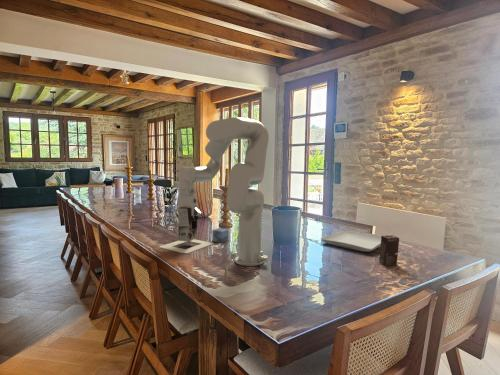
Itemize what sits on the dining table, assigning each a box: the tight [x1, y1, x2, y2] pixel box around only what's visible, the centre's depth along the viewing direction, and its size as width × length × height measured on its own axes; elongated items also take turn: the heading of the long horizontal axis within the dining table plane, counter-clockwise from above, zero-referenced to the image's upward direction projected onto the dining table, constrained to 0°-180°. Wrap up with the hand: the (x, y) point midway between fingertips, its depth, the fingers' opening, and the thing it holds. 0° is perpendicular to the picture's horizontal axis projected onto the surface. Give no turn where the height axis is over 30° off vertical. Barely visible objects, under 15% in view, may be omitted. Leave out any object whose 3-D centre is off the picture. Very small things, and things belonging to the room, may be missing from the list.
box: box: [378, 235, 400, 266], centre depth 139 cm, size 6×4×12 cm
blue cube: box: [211, 227, 229, 244], centre depth 172 cm, size 6×6×6 cm
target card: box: [158, 238, 215, 255], centre depth 162 cm, size 18×20×1 cm
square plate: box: [320, 230, 382, 253], centre depth 170 cm, size 27×27×4 cm
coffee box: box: [177, 207, 198, 243], centre depth 160 cm, size 9×6×16 cm
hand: (187, 227), depth 161 cm, fingers closed on coffee box, 7 cm apart
